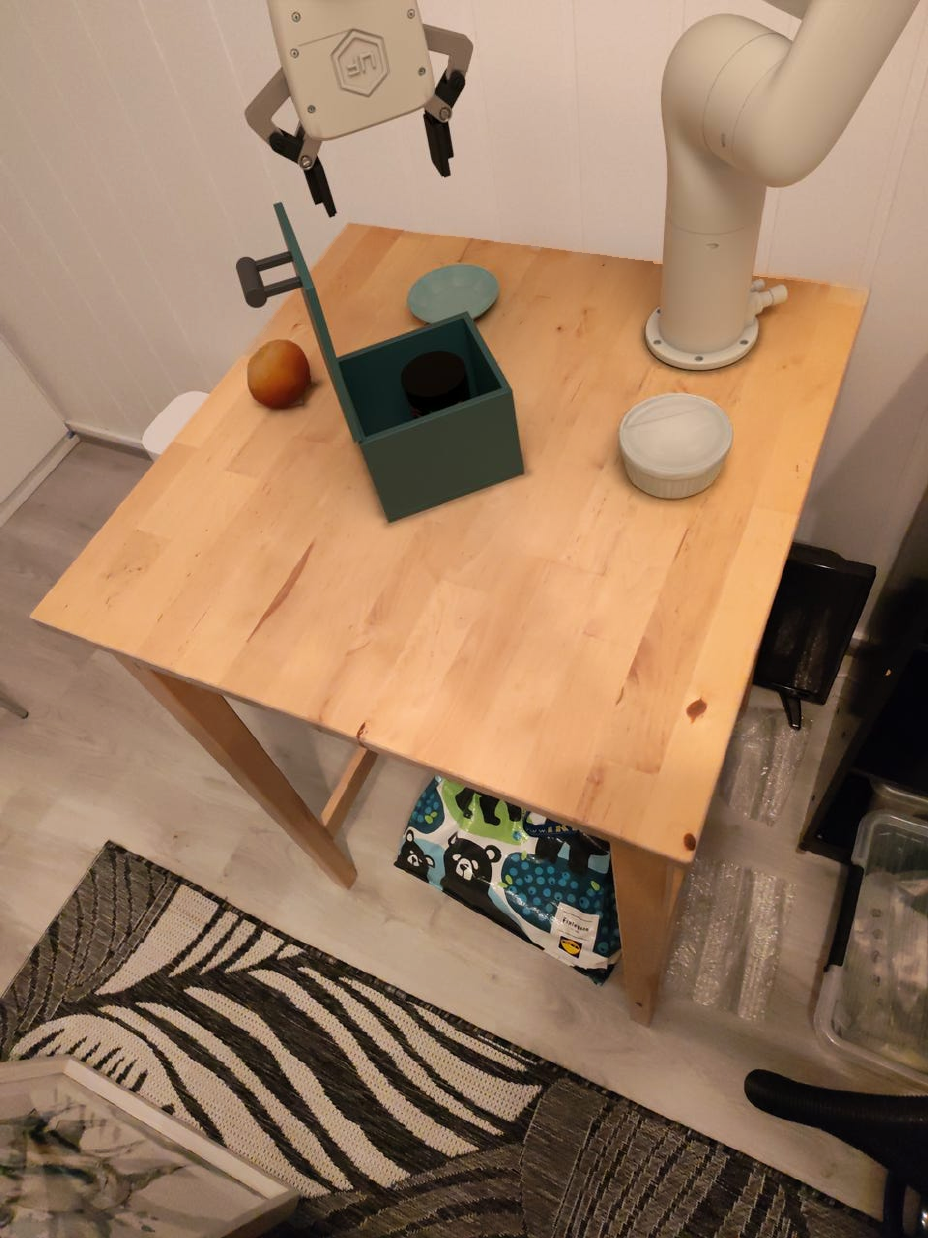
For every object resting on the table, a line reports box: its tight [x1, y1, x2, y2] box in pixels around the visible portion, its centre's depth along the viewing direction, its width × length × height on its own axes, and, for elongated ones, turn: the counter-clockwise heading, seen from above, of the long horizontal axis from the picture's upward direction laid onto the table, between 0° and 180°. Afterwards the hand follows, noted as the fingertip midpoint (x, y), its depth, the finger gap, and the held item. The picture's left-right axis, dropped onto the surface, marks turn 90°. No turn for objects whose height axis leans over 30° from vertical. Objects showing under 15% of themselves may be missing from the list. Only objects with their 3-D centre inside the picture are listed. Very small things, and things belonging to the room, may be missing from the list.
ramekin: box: [617, 392, 734, 500], centre depth 81 cm, size 11×11×5 cm
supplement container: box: [401, 351, 472, 420], centre depth 85 cm, size 7×7×10 cm
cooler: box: [336, 311, 525, 524], centre depth 85 cm, size 16×14×12 cm
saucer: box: [406, 263, 500, 324], centre depth 102 cm, size 12×12×2 cm
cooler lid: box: [235, 201, 362, 444], centre depth 72 cm, size 16×14×6 cm
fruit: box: [246, 339, 317, 410], centre depth 97 cm, size 8×8×8 cm
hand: (385, 188), depth 65 cm, fingers open, 9 cm apart
